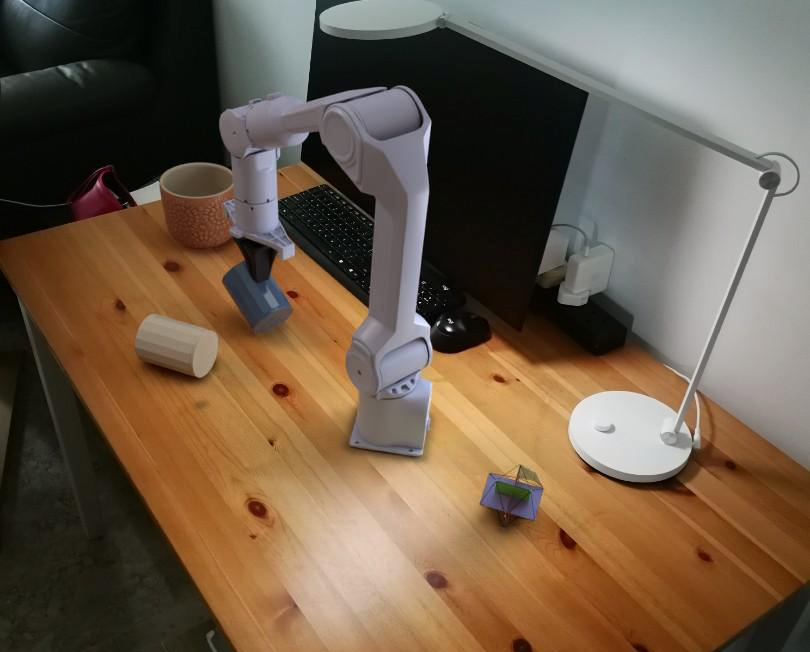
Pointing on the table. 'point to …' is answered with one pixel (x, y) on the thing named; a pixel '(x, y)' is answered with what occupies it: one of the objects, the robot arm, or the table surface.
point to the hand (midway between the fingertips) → (260, 278)
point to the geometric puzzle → (513, 494)
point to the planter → (197, 203)
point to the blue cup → (257, 299)
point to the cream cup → (176, 345)
